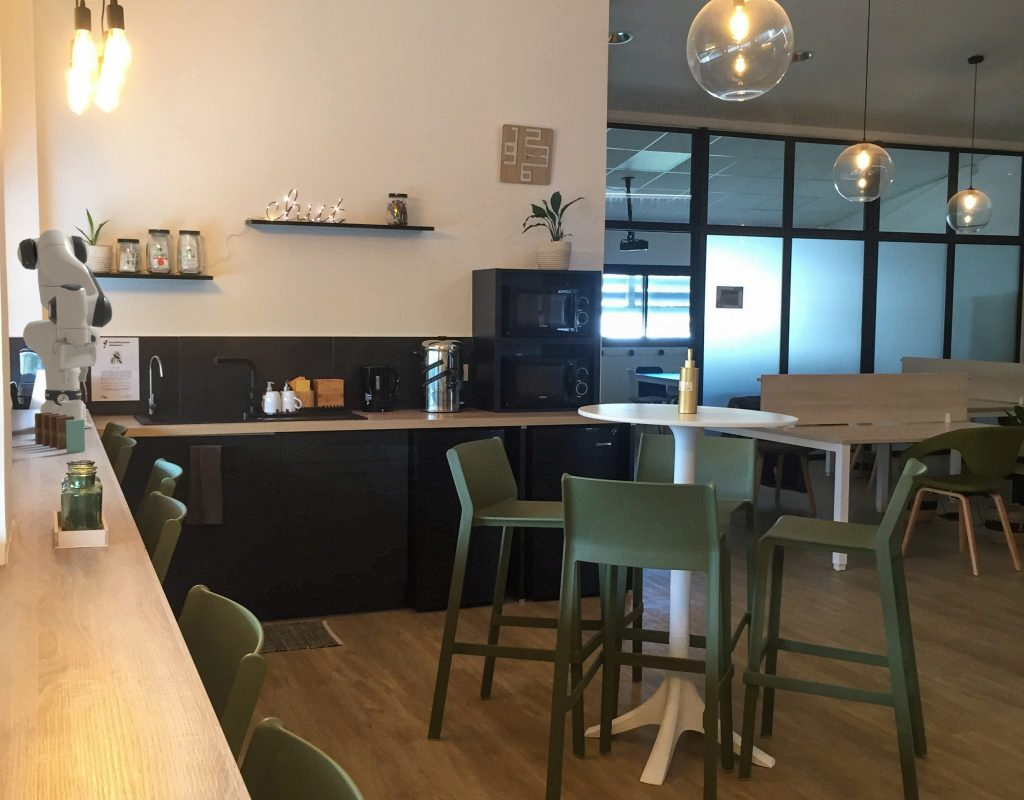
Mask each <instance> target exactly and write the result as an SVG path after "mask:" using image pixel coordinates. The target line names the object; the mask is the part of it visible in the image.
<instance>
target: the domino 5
mask: <svg viewBox="0 0 1024 800" xmlns="http://www.w3.org/2000/svg"><path fill="white" fill-rule="evenodd" d="M85 436H86V435H85V428H84V420H83V419H78V420H67V421H66V438H67V449H66V453H67V454H75V453H84V452H83V451H85V452H86V444H85V443H86V442H85V439H86V437H85Z"/></svg>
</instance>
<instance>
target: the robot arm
mask: <svg viewBox="0 0 1024 800" xmlns="http://www.w3.org/2000/svg"><path fill="white" fill-rule="evenodd" d="M18 243H19V242H18ZM16 252H17V259H18V261H19V263H20V264H21V266H22V267H23V268H24V269H26V270H30V271H31V270H33V271H35V270H37V282H38V283H37V284H38V293H39V299H40V304H41V305H42V307H43V308H44V309H45V310H46V311H48V319H40V320H39V319H38V320H33V321H29V322H28V323H27V324H26V325H25V327H24V329H23V333H22V337H23V341H24V342H25V344H26V346H27V347H28V348H29V349H31V350H32V351H33V352H34V353H35V354H36V355H37V356H38V358H39V359H40V360H41V362H42V365H43V368H44V373H45V376H44V377H45V387H46V389H44V399H45V401H44V403H43V404H42V405H40V411H39V413H47V412H51V413H52V411H53V409H54V406H55V405H59V406H62V401H68V400H80V401H82V400H81V399H82V389H81V387H80V386H81V385H80V383H81V382H87V374H88V372H89V367H95V365H96V363H97V346H98V344H99V342H100V338H101V334H100V330H99V328H104V327H106V325H108V324H109V323H110V322H111V321H112V318H113V307H112V304H111V302H110V300H109V299H108V297H107V296H106V295H105V293H104V292H103V290H102V288H101V286H100V285H99V282H98V280H97V278H96V277H95V275H94V273H93V271H92V269H91V268H90V267H89V266H88V265H87V264H86V263H87V261H88V258H89V246H88V244H87V242H86V240H85V239H84V238H83V237H82V236H80V235H71V236H69V235H68V236H67V235H66V233H64V232H63V231H61V230H58V229H48V230H45V231H43V232H42V233H41V234H40V235H39V237H36V238H29V237H28V238H26V239H23V240H21V241H20V243H19V244H18V247H17V251H16ZM86 407H87V406H86V404H85V403H84V402H83V420H84V429H90V428H93V424H91V423H89V422H87V417H88V416H87V408H86ZM55 414H59V415H62V410H61V409H58V410H57V411H56V412H55Z"/></svg>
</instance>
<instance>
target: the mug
mask: <svg viewBox="0 0 1024 800" xmlns="http://www.w3.org/2000/svg"><path fill="white" fill-rule="evenodd" d="M83 403H84V400H81V401H80V400H68V401H62V406H59V405H55V406H54V409H53V411H52V414H55V412H56V411H57V410H58V409H61V410H62V415H67V416H74V420H78V419H83Z"/></svg>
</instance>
